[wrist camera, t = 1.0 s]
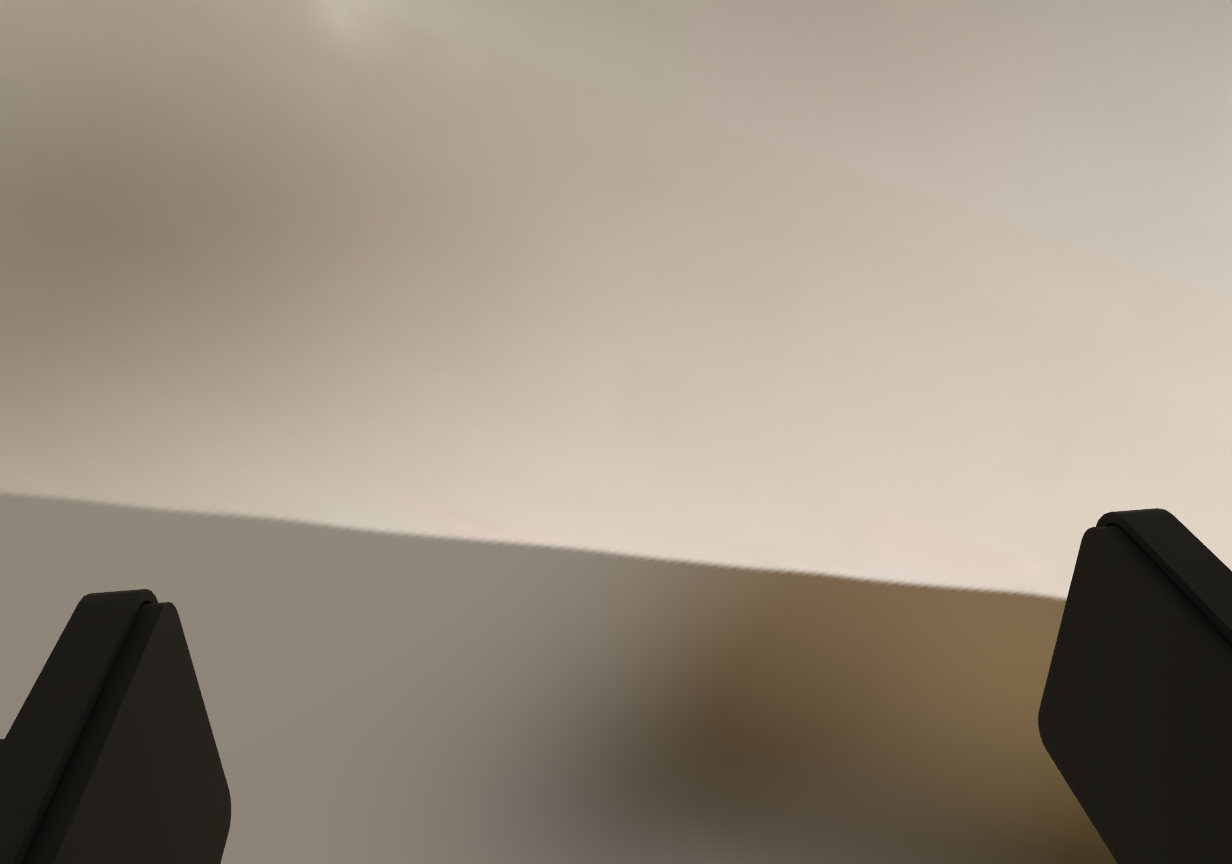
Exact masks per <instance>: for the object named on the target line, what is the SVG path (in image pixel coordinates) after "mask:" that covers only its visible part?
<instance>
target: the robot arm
mask: <svg viewBox="0 0 1232 864" xmlns="http://www.w3.org/2000/svg"><path fill="white" fill-rule="evenodd" d="M1038 726H1039V731H1040V736H1041V739H1042V742H1043V744H1044V746H1045V748H1046V750H1047V752H1048V753H1049V755H1050V756H1051V758H1052V760H1053V761H1054V762H1055V764H1056V766H1057V768H1058V769H1059V771H1060V772H1061V774H1062V776H1063V777H1064V779H1065V780H1066V782H1067V784H1068V785H1069V787H1070V788H1071V790H1072V791H1073V793H1074V795H1075V796H1076V798H1077V799H1078V801H1079V803H1080V804H1081V806H1082V807H1083V809H1084V811H1085V812H1086V814H1087V815H1088V817H1089V818H1090V820H1091V822H1092V823H1093V825H1094V826H1095V828H1096V830H1097V831H1098V833H1099V835H1100V836H1101V838H1102V839H1103V841H1104V843H1105V844H1106V846H1107V847H1108V849H1109V850H1110V852H1111V854H1112V855H1113V857H1114V858H1115V860H1116V862H1117V863H1118V864H1232V571H1231V570H1230V569H1229V568H1228V567H1227V566H1226V565H1225V564H1224V563H1223V562H1221V561H1220V560H1219V559H1218V558H1217V557H1216V556H1215V555H1214V554H1213V553H1212V552H1211V551H1210V550H1209V549H1208V548H1207V547H1206V546H1205V545H1204V544H1203V543H1202V542H1201V541H1200V540H1199V539H1198V538H1196V537H1195V536H1194V535H1193V534H1192V533H1191V532H1190V531H1189V530H1188V529H1187V528H1186V527H1185V526H1184V525H1183V524H1182V523H1181V522H1180V521H1179V520H1178V519H1177V518H1176V517H1175V516H1174V515H1172V514H1171V513H1169V512H1168V511H1166V510H1164V509H1158V508H1156V509H1143V510H1131V511H1118V512H1109V513H1107V514H1104V515H1103V516H1102V517H1101V518H1100V519H1099V520H1098V523H1097V525H1096V527H1092V528H1090V529H1088V530H1087V531H1086V532H1085V533H1084V536H1083V538H1082V541H1081V545H1080V549H1079V553H1078V557H1077V561H1076V565H1075V569H1074V573H1073V577H1072V581H1071V585H1070V589H1069V593H1068V597H1067V601H1066V605H1065V609H1064V613H1063V617H1062V621H1061V625H1060V629H1059V633H1058V637H1057V641H1056V645H1055V649H1054V653H1053V657H1052V661H1051V665H1050V669H1049V673H1048V677H1047V681H1046V685H1045V689H1044V693H1043V697H1042V701H1041V705H1040V709H1039V715H1038ZM230 819H231V799H230V793H229V789H228V785H227V781H226V778H225V775H224V771H223V768H222V764H221V761H220V758H219V754H218V750H217V747H216V743H215V740H214V737H213V733H212V729H211V726H210V723H209V719H208V716H207V712H206V709H205V705H204V702H203V698H202V695H201V691H200V688H199V685H198V681H197V677H196V674H195V670H194V667H193V664H192V660H191V657H190V653H189V650H188V646H187V643H186V639H185V636H184V632H183V629H182V625H181V622H180V618H179V615H178V612H177V610H176V608H175V606H174V605H173V603H170V602H166V603H158V601H157V599H156V596H155V595H154V594H153V593H152V591H150V590H147V589H141V590H129V591H116V592H104V593H92V594H88V595H86V596H84V597H83V598H82V599H81V601H80V602H79V603H78V605H77V607H76V609H75V610H74V613H73V614H72V616H71V618H70V620H69V622H68V623H67V625H66V627H65V629H64V631H63V633H62V635H61V636H60V638H59V640H58V642H57V644H56V646H55V647H54V649H53V651H52V653H51V655H50V657H49V658H48V660H47V662H46V664H45V666H44V668H43V670H42V671H41V673H40V675H39V677H38V679H37V681H36V683H35V684H34V686H33V688H32V690H31V692H30V693H29V695H28V697H27V699H26V701H25V703H24V704H23V706H22V708H21V710H20V712H19V714H18V716H17V717H16V719H15V721H14V723H13V725H12V726H11V729H10V730H9V732H8V734H7V736H6V738H5V739H0V864H220V863H221V859H222V855H223V851H224V848H225V844H226V840H227V836H228V832H229V827H230Z"/></svg>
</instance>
